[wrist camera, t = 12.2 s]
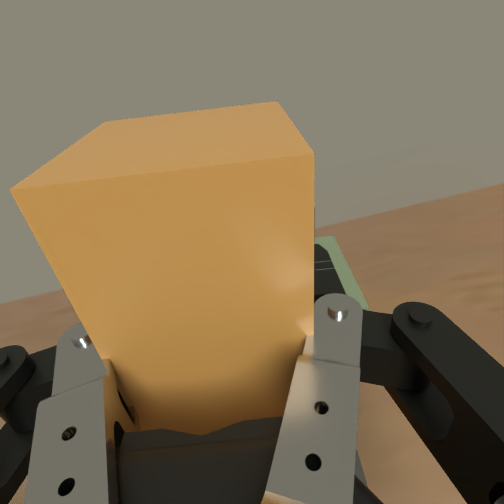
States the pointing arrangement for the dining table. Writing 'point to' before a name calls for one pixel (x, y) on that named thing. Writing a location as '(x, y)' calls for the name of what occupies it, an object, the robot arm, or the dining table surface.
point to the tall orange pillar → (186, 257)
